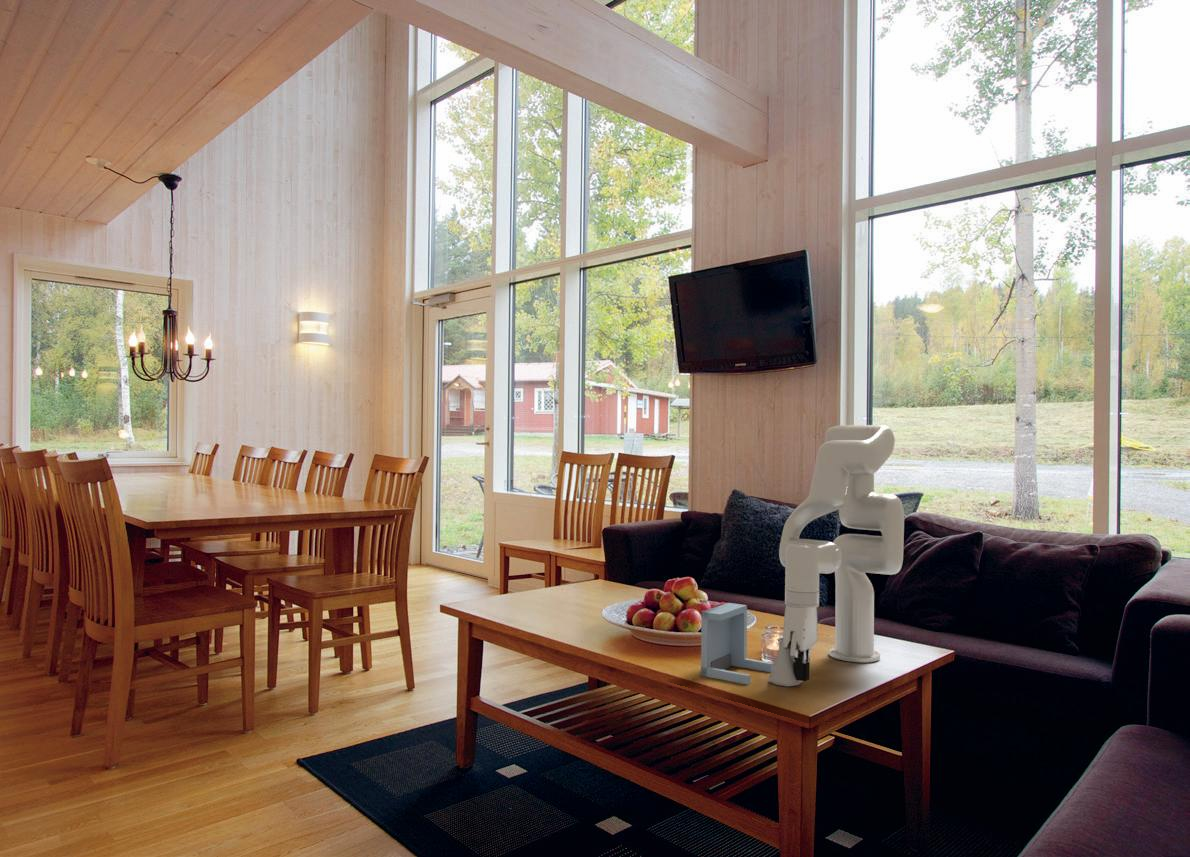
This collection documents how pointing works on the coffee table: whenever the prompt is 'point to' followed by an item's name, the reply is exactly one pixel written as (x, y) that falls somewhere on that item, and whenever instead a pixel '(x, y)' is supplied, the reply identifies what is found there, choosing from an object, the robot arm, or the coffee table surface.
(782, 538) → the robot arm
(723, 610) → the blue frame
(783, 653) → the flask
